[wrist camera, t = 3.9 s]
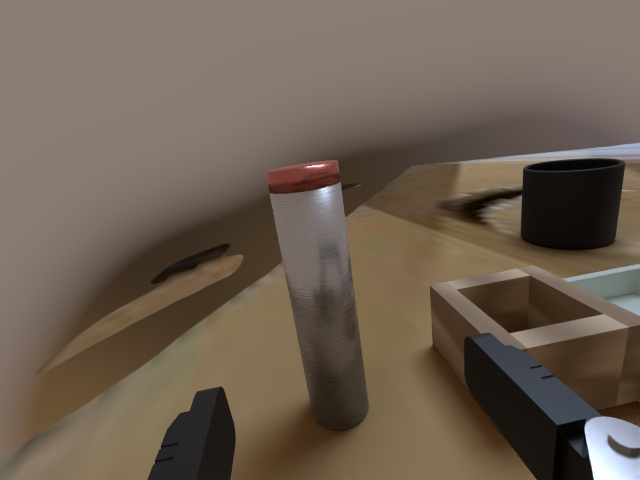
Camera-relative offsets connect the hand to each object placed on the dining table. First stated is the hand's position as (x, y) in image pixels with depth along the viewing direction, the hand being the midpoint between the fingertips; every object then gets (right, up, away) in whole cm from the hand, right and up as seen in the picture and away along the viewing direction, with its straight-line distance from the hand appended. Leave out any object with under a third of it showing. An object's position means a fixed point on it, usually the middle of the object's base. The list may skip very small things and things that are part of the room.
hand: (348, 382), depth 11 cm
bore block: (+12, -4, +11) cm, 17 cm away
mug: (+31, +5, +31) cm, 44 cm away
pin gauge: (0, -6, +10) cm, 11 cm away
